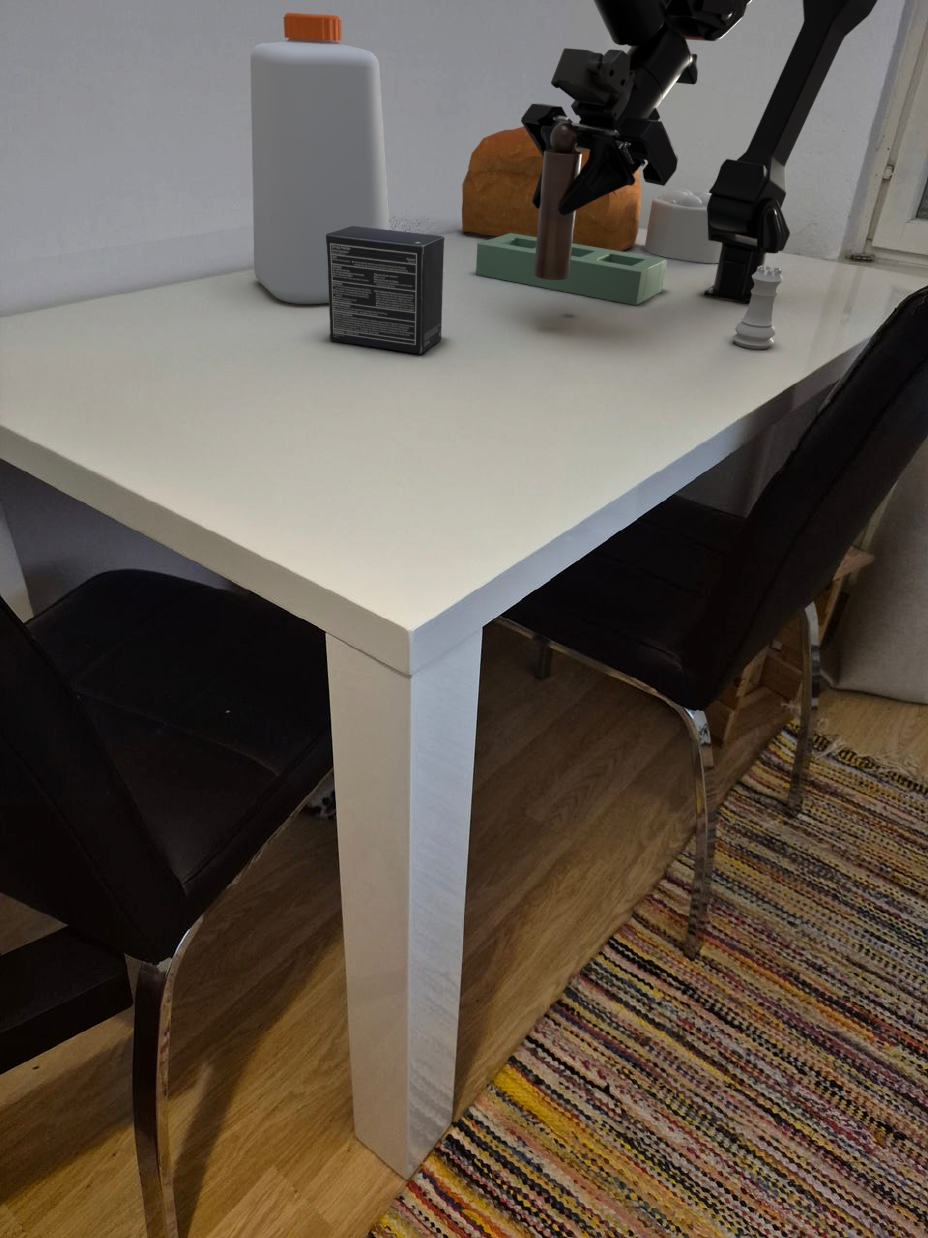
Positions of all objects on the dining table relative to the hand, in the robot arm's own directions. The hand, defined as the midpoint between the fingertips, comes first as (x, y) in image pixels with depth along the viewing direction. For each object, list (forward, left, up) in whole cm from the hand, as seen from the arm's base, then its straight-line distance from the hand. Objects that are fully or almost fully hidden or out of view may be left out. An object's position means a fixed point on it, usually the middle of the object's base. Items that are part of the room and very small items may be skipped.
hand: (547, 208), depth 90 cm
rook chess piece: (-12, +21, -13) cm, 27 cm away
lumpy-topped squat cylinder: (-53, -1, -13) cm, 54 cm away
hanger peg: (-1, +1, -7) cm, 7 cm away
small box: (+13, -11, -13) cm, 21 cm away
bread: (-47, -22, -13) cm, 53 cm away
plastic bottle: (+1, -29, -13) cm, 32 cm away
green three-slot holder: (-23, -7, -12) cm, 27 cm away
